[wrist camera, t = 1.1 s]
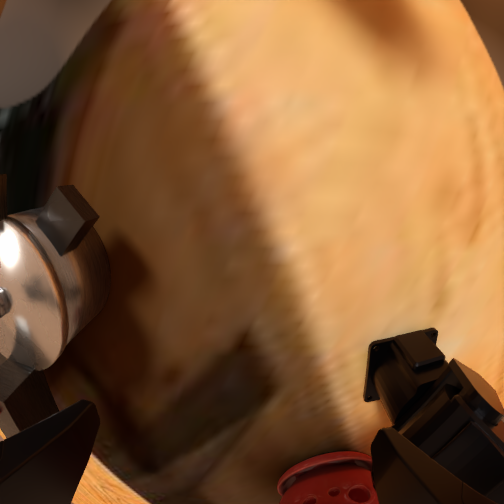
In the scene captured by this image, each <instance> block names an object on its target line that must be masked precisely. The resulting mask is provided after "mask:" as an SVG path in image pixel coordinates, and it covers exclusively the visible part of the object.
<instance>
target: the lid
mask: <svg viewBox="0 0 504 504" xmlns="http://www.w3.org/2000/svg"><path fill="white" fill-rule="evenodd" d="M68 333H69V319H68V311H67V305H66V301H65V296H64V293H63V290H62V286H61V283H60V281H59V278H58V275H57V273H56V271H55V269H54V266H53V264H52V262H51V260H50V258H49V257H48V255H47V253H46V251H45V250H44V248H43V247H42V245H41V244H40V242H39V241H38V240H37V238H36V237H35V236H34V235H33V233H32V232H31V231H30V230H29V229H28V228H27V227H26V226H25V225H23V224H22V223H21V222H19V221H18V220H16V219H14V218H13V217H10V216H8V215H7V174H3V175H0V353H1V354H2V355H3V356H5V357H6V358H7V360H6V361H5V362H3V363H2V364H1V365H0V429H1V430H2V432H3V433H4V435H5V436H6V438H9V437H11V436H13V435H15V434H17V433H19V432H21V431H23V430H25V429H27V428H29V427H31V426H33V425H35V424H37V423H39V422H41V421H42V420H44V419H46V418H48V417H50V416H52V415H54V414H56V413H58V412H59V409H58V407H57V405H56V403H55V400H54V398H53V396H52V393H51V391H50V388H49V386H48V383H47V381H46V378H45V375H44V373H43V370H44V369H46V368H48V367H50V366H51V365H52V364H53V363H54V362H55V361H56V360H57V359H58V357H59V356H60V355H61V354H62V353H63V351H64V349H65V347H66V344H67V340H68Z"/></svg>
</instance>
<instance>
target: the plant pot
mask: <svg viewBox="0 0 504 504" xmlns="http://www.w3.org/2000/svg"><path fill="white" fill-rule="evenodd" d="M371 471H372V457H370V456H369V455H366V454H364V453H360V452H353V451H339V452H332V453H327V454H322V455H316V456H314V457H312V458H309V459H307V460H304V461H302V462H300V463H298V464H296V465H294V466H293V467H291V468H290V469H289V470H287V471H286V472H285V473H284V474H283V475H282V476H281V478H280V479H279V482H278V485H277V489H278V492H279V494H280V495H281V496H282V499H281V501H280V503H279V504H379V501H378V497H377V493H376V491H375V489H374V487H373V483H372V478H371Z"/></svg>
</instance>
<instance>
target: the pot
mask: <svg viewBox="0 0 504 504" xmlns="http://www.w3.org/2000/svg"><path fill="white" fill-rule="evenodd" d="M8 216H10V217H13V218H14V219H16V220H18V221H19V222H21V223H22V224H23V225H25V226H26V227H27V228H28V229H29V230H30V231H31V232H32V233H33V235H34V236H35V237H36V238H37V240H38V241H39V242H40V244H41V245H42V247H43V248H44V250H45V251H46V253H47V255H48V257H49V258H50V260H51V262H52V264H53V266H54V269H55V271H56V273H57V275H58V278H59V281H60V283H61V286H62V290H63V293H64V296H65V301H66V305H67V311H68V319H69V333H68V340H67V344H68V343H69V342H70V341H71V340H72V339H73V338H74V337H75V336H76V335H77V334H78V333H79V332H80V331H81V330H82V329H83V328H84V327H85V326H86V325H87V324H88V323H89V322H90V321H91V320H92V319H93V318H94V317H95V316H96V315H97V314H98V313H99V312H100V311H101V310H102V308H103V307H104V305H105V303H106V301H107V298H108V295H109V290H110V280H111V277H110V267H109V261H108V257H107V253H106V251H105V248H104V245H103V243H102V241H101V239H100V237H99V235H98V234H97V232H96V230H95V229H94V228H93V225H94V224H95V222H96V221H97V220H98V218H99V215H98V214H97V213H96V212H95V211H94V210H93V208H92V207H91V206H90V205H89V204H88V202H87V201H86V200H85V199H84V198H83V196H82V195H81V194H80V193H79V192H78V190H77V189H76V188H75V187H74V185H67V186H58V187H56V189H55V190H54V192H53V194H52V195H51V197H50V198H49V200H48V202H47V203H46V205H45V207H41V208H36V209H32V210H28V211H24V212H19V213H15V214H11V215H8ZM67 344H66V345H67ZM6 360H7V358H6V357H5V356H3V355H2V354H1V353H0V365H1V364H2V363H3V362H5V361H6Z"/></svg>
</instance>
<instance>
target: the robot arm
mask: <svg viewBox="0 0 504 504" xmlns="http://www.w3.org/2000/svg"><path fill="white" fill-rule="evenodd" d="M432 333H433V334H432ZM431 334H432V335H431ZM437 336H438V331H437V330H436V329H435V328H429V329H425V330H419V331H415V332H411V333H407V334H402V335H398V336H395V337H391V338H387V339H382V340H377V341H373V342H372V343H371V344H370V345H369V351H368V361H367V371H366V379H365V387H364V395H363V398H364V400H365V402H371V401H375V400H379V399H381V402H382V404H383V406H384V408H385V410H386V412H387V414H388V416H389V418H390V420H391V422H392V424H393V426H392V427H389V428H382V429H380V430H379V431H378V433H377V435H376V437H375V439H374V440H373V442H372V444H371V456H372V471H371V478H372V483H373V487H374V489H375V491H376V493H377V497H378V501H379V504H504V422H503V421H502V420H501V419H502V418H503V417H504V409H503V406H502V404H501V402H500V400H499V397H498V395H497V393H496V391H495V390H494V389H493V388H492V387H491V386H490V385H489V384H488V383H487V382H486V381H485V380H484V379H483V378H482V377H481V376H480V375H479V374H478V373H476V372H475V371H473V370H472V369H470V368H468V367H467V366H465V365H464V364H462V363H461V362H459V361H457V360H456V359H454V358H453V359H452V360H451V361H450V363H448V362H447V361H446V360H445V355H444V354H443V353H442V352H441V351H440V350H439V348H438V347H437V346H436V341H437ZM375 346H377V347H376V348H375V349H374V347H375ZM369 396H370V397H369ZM99 426H100V418H99V415H98V412H97V409H96V406H95V404H94V403H93V402H91V401H88V400H80V401H78V402H76V403H74V404H73V405H71V406H69V407H67V408H65V409H63V410H61V411H60V412H58V413H56V414H54V415H52V416H50V417H48V418H46V419H44V420H42V421H41V422H39V423H37V424H35V425H33V426H31V427H29V428H27V429H25V430H23V431H21V432H19V433H17V434H15V435H13V436H11V437H9V438H7V439H5V440H4V441H0V504H71V501H72V499H73V496H74V494H75V491H76V489H77V487H78V484H79V482H80V480H81V477H82V475H83V473H84V470H85V468H86V466H87V463H88V461H89V458H90V455H91V452H92V448H93V445H94V442H95V438H96V435H97V432H98V429H99Z"/></svg>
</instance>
